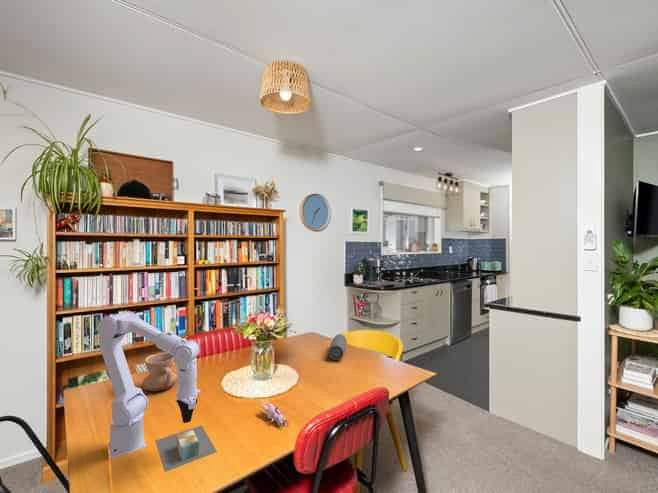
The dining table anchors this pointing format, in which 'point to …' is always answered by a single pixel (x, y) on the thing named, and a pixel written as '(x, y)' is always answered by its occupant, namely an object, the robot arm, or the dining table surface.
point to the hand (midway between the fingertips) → (186, 421)
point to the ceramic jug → (159, 372)
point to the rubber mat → (171, 454)
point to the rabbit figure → (275, 414)
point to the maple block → (187, 445)
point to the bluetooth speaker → (338, 347)
